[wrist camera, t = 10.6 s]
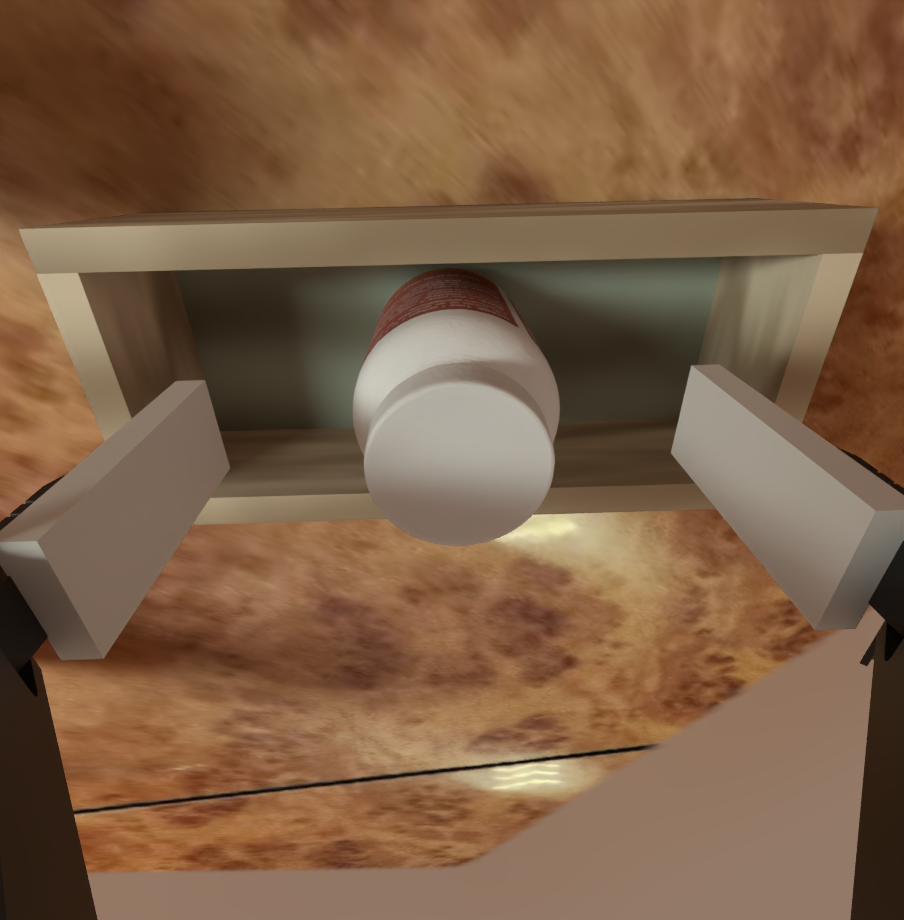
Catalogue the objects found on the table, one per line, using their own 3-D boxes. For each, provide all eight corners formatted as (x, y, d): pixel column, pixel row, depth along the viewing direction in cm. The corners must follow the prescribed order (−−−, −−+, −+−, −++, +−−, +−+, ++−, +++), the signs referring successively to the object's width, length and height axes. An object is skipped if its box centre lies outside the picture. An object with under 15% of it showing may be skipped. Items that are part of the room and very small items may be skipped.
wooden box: (138, 213, 20) (18, 228, 14) (754, 198, 20) (879, 208, 14) (207, 446, 25) (139, 526, 19) (697, 432, 25) (772, 507, 20)
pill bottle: (349, 350, 22) (279, 489, 12) (438, 230, 20) (436, 284, 10) (459, 430, 24) (473, 604, 14) (551, 330, 22) (640, 455, 12)
